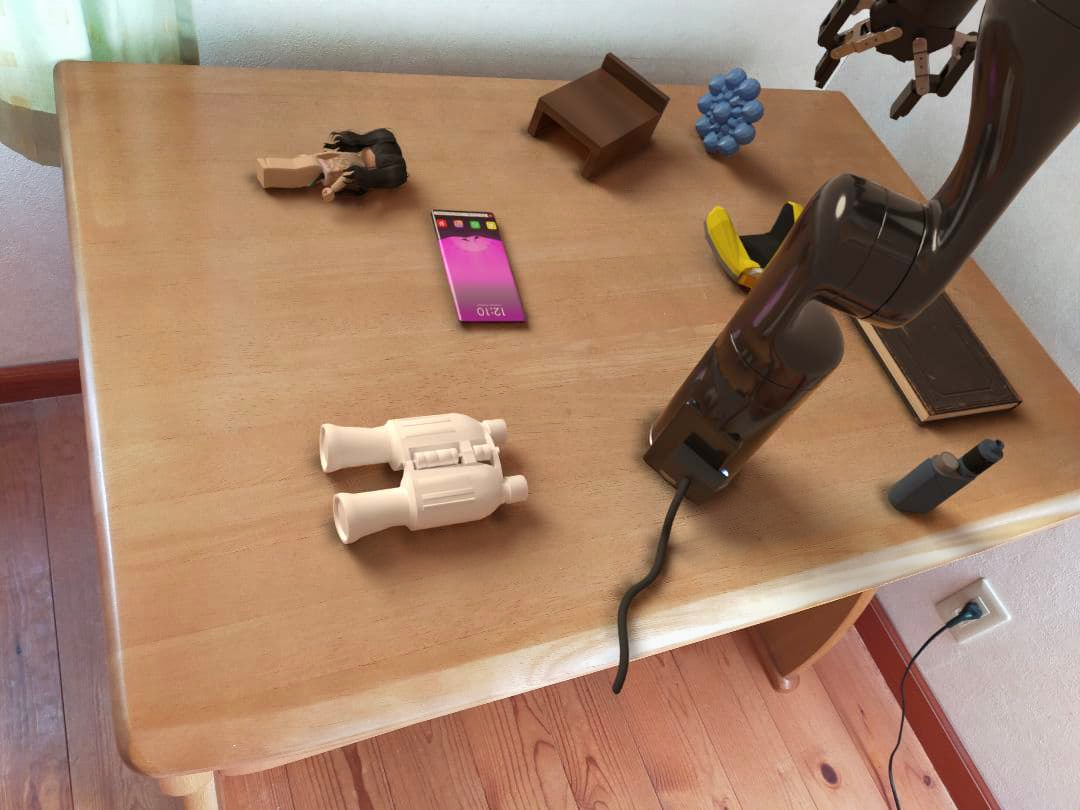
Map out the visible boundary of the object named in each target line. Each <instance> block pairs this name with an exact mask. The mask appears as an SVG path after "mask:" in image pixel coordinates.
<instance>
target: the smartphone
mask: <svg viewBox="0 0 1080 810" xmlns="http://www.w3.org/2000/svg"><path fill="white" fill-rule="evenodd" d="M430 217H431V221H432V224H433V229H434V232H435V233H434V234H435V236H436V240H437V244H438V248H439V251H440V256H441V259H442V263H443V267H444V270H445V274H446V278H447V282H448V286H449V289H450V293H451V297H452V302H453V305H454V309H455V313H456V316H457V320H458V322H459V323H460V324H524V323H526V322H527V316H526V314H525V311H524V307H523V304H522V301H521V298H520V294H519V291H518V287H517V284H516V281H515V278H514V274H513V271H512V269H511V265H510V262H509V258H508V256H507V253H506V248H505V246H504V243H503V239H502V235H501V233H500V230H499V229H500V228H499V226H498V223H497V220H496V216H495V214H494V213H493V212H492V211H474V210H473V211H472V210H471V211H470V210H455V209H454V210H453V209H432V210H431V211H430Z"/></svg>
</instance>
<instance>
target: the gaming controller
mask: <svg viewBox="0 0 1080 810" xmlns="http://www.w3.org/2000/svg"><path fill="white" fill-rule="evenodd" d="M803 209H804V207H803V206H802V204H799V203H796V202H793V201H787V202H786V203H784V204H783V205H782V206H781V208H780V209H779V212H778V214H777V216H776V218H775V220H774V221H773V224H772V226H771V228H770V229H769V231H768V232H765V233H758V234H757V233H756V234H755V233H754V234H744V235H739V234H738V232H737V231H736V229H735V226H734V223H733V220H732V219H731V217H730V215H729V212H728V211H727V209H726V208H723V207H722V206H719V205H715V207H714V208H712V210H711V211H710V212H709V213H708V214H707V215H706V217H705V218H704V220H703V230H704V239H705V240H706V242H707V243H708V245H709V247H710V249H711V252H712V253H713V255H714V257H715V259H716V260H717V262H718V264H719V265H720V267H722V268H723V270H724V271H725V272H726V273H727V277H728V278H729V279H730V280H732V282H735V283H736V284H738V285H740V286H743V287H745V288H748V289H750V290H751V289H752V287H753V285H754V284H755V282H756V280H757V279H758V277H759V276H760V274H761V273H762V271H763V270H764V269H765V267H766V266H767V264H768V263H769V262H770V260H771V259H772V257H773V256H774V254H775V253H776V251H777V250H778V248H779V247H780V245H781V244H782V242H783V241H784V239H785V238H786V236H787V234H788V233H789V231H790V230H791V228H792V227H793V225H794V223H795V222H796V220H797V219H798V217H799V215H800V214H801V212H802V211H803Z"/></svg>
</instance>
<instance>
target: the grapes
mask: <svg viewBox="0 0 1080 810" xmlns="http://www.w3.org/2000/svg"><path fill="white" fill-rule="evenodd" d="M761 89H762V86H761V83H760V81H759V80H758V79H757V78H753V77H748V75H747V72H746V71H745V70H744V69H743V68H739V67H736V68H732V69H731V70H729V72H727V73H726V74H722V73H720V74H716V75H715V76H713V77H712V78H711V80H710V81H709V83H708V91H709V92H707V93H704V94H702V95H701V96H700V97H699V99H698V100H697V104H696V106H697V109H698V111H699V112H700V114H702V116H700V117H699V118H698V119H697V121H696V122H695V125H694V127H695V128H694V129H695V132H696V133H697V134H698V135H699V136H701V137H703V141H702V144H703V148H704V149H705V150H706V152H708V153H711V154H715V153H718V152H719V153H720V154H721V155H722V157H723V156H724V157H727V158H729V157H733V156H735V155H736V154H737V153H738V152H739V151H740V147H741V146H746V145H749V144H751V143H752V142H754V140H755V138H756V135H757V134H756V133H757V130H756V127H755V126H754V125H753V124H755V123H759V121H760V120H761V119H762V118H763V116H764V115H765V114H764V113H765V106H764V104H763V103H762V101H760V100H757V99H758V97H759V96H760V94H761V91H762V90H761Z"/></svg>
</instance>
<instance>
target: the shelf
mask: <svg viewBox="0 0 1080 810" xmlns="http://www.w3.org/2000/svg"><path fill="white" fill-rule="evenodd" d="M670 101H671V97H669V95H667V94H666V93H664V91H662V90H660V89H659V88H658V87H657V86H656V85H654V84H653V83H651V82H650V81H649V80H648V79H646V78H645V77H643V75H641V74H640V73H638V72H637V71H636V70H635V69H634V68H632V67H630V66H629V65H628V64H627V63H625V62H624V60H622V59H620V58H619V57H618V56H617V55H615V54H614V53H612V52H611V51H610V52H608V53H606V54H605V56H604V58H603V61H602V63H601V66H600V67H599V68H597V69H595V70H592V71H590V72H588V73H587V74H584V75H582V76H580V77H578V78H576V79H574V80H572V81H570V82H568V83H566V84H564V85H562V86H560V87H557V88H555V89H554V90H552V91H549V92H548V93H546V94H544V95H540V96H539V97H538V99H537V102H536V105H535V108H534V111H533V113H532V116H531V118H530V121H529V124H528V127H527V129H526V132H527V133H528V134H530V135H531V136H532V137H536V136H538V135H540V134H542V133H543V132H546V131H548V130H549V129H552V128H553V127H555V126H557V125H559V126H561V127H562V128H563V129H565V130H566V131H567V132H568V133H569V134H571V135H572V136H573V137H574V138H576V139H577V140H578V141H580V142H581V143H582V144H583V145H585V146H586V147H587V148H588V149H589V150H590V152H589V153H588V156H587V158H586V159H585V163H584V165H583V167H582V169H581V171H580V176H581V177H582V178H584V179H585V180H586V181H588V180H590V179H592V178H593V177H595V176H596V175H599V174H600V173H602V172H603V171H605V170H606V169H608V168H609V167H611V166H613V165H615V164H616V163H617V162H619V161H621V160H622V159H624V158H626V157H627V156H629V155H630V154H632V153H633V152H636V151H637V150H638V149H640V148H643V146H645V145H648V144H649V142H650V139H651V137H652V136H653V134H654V132H655V130H656V128H657V126H658V124H659V122H660V120H661V118H662V116H663V115H664V113H665V110H666V108H667V106H668V104H669V102H670Z"/></svg>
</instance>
